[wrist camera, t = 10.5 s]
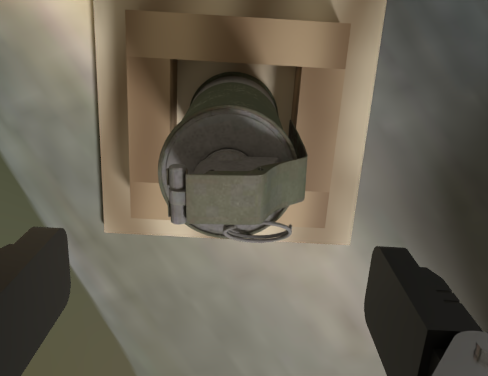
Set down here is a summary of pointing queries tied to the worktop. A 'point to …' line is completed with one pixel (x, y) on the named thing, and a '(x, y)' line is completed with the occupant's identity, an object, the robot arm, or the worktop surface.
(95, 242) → the worktop surface
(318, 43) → the socket block
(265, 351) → the worktop surface
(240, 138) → the grenade
